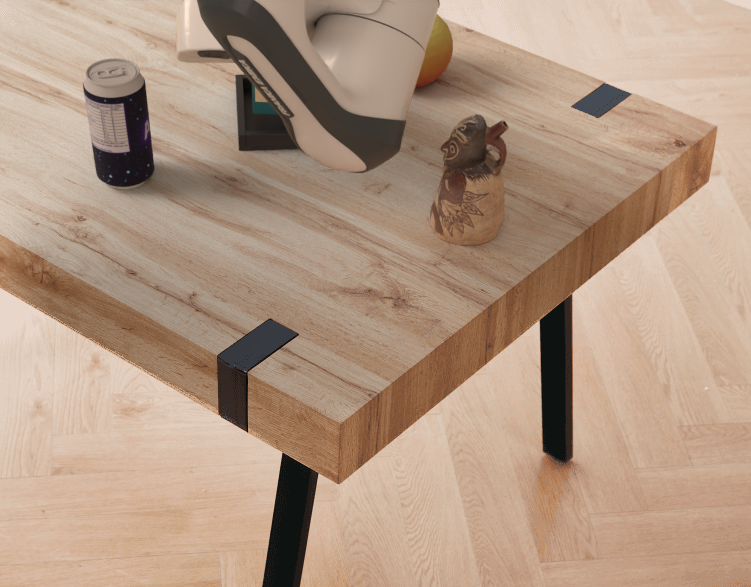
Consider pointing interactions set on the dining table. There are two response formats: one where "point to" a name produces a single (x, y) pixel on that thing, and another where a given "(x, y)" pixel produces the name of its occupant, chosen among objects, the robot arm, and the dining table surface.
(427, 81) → the apple
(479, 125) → the figurine
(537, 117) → the dining table surface
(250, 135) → the tray
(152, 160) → the beverage can
